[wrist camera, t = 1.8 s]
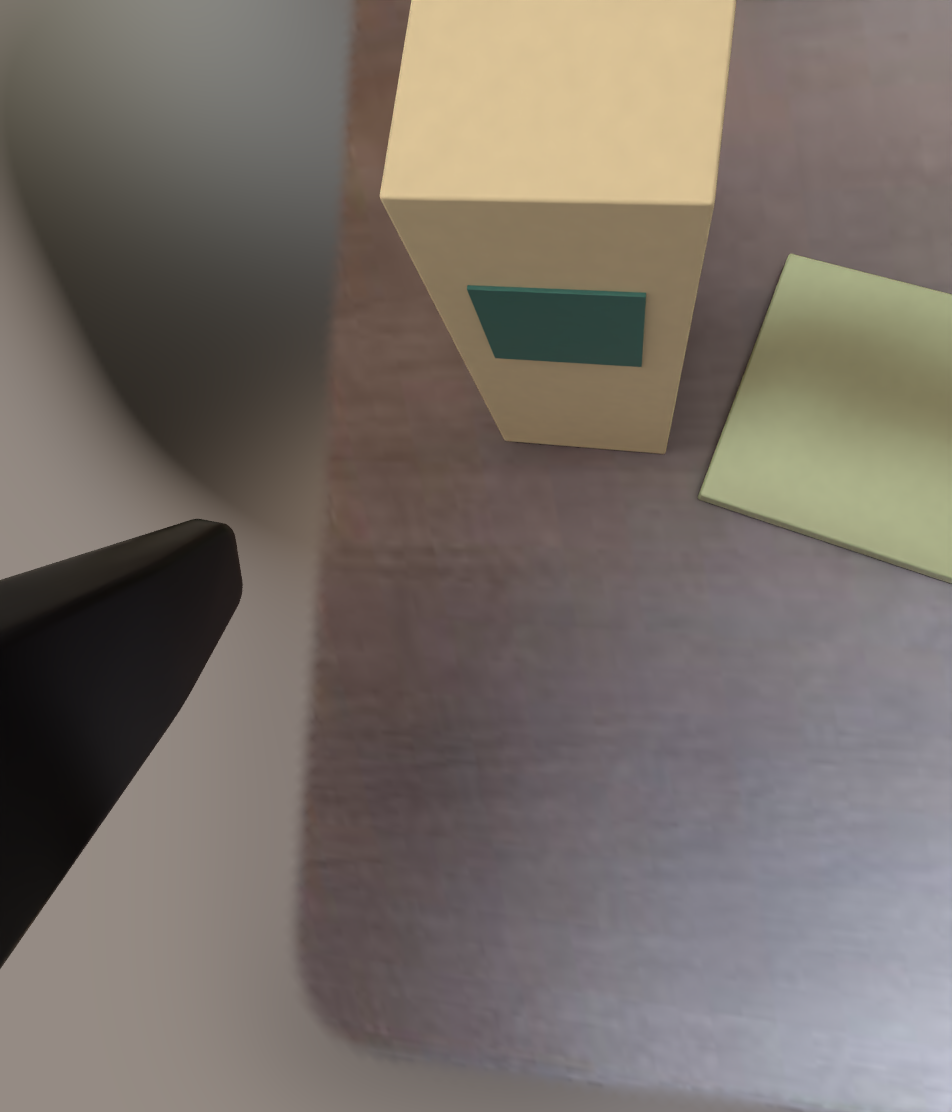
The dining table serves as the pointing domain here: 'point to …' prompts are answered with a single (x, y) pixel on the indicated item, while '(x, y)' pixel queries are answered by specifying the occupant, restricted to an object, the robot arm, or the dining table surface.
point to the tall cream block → (563, 200)
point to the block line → (846, 417)
